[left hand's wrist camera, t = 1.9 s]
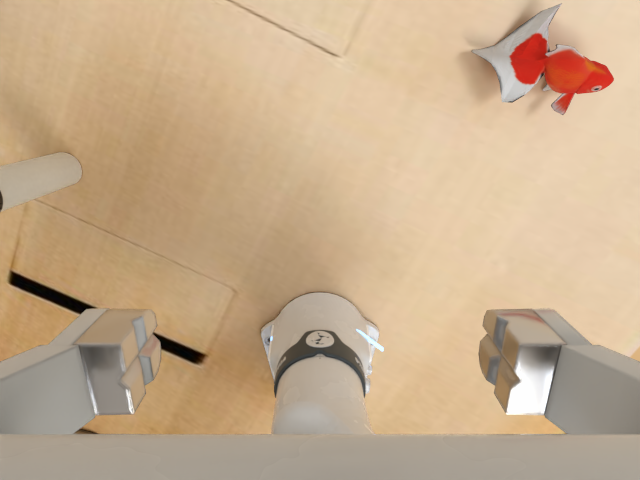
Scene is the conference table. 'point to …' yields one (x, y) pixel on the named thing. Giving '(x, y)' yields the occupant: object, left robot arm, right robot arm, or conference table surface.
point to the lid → (1, 201)
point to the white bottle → (37, 177)
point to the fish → (543, 64)
